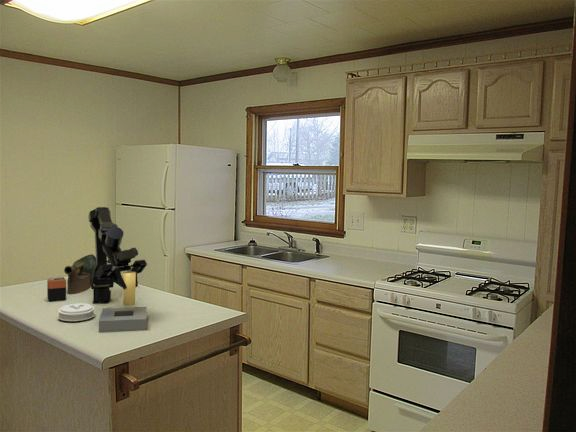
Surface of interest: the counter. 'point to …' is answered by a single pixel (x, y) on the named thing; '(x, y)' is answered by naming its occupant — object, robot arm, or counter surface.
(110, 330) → the socket block
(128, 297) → the plug
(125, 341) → the counter surface
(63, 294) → the battery
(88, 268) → the squash
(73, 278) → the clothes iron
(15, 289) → the counter surface
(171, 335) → the counter surface
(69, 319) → the lid
